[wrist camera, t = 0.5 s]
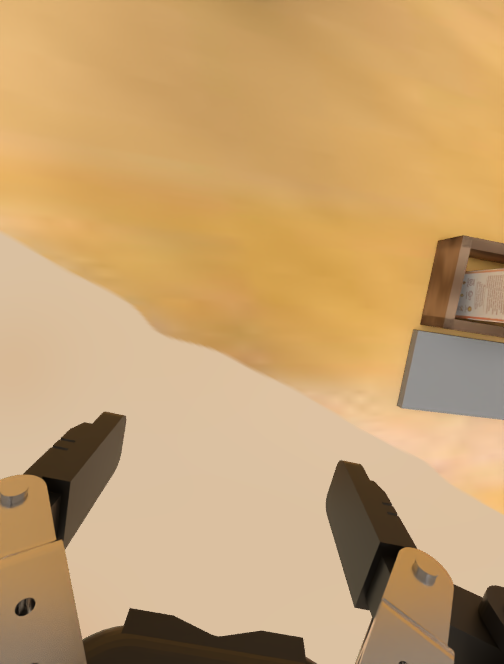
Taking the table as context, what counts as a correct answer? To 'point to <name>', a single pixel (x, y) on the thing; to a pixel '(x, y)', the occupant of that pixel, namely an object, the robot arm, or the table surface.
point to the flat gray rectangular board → (454, 376)
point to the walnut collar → (457, 282)
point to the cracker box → (482, 296)
